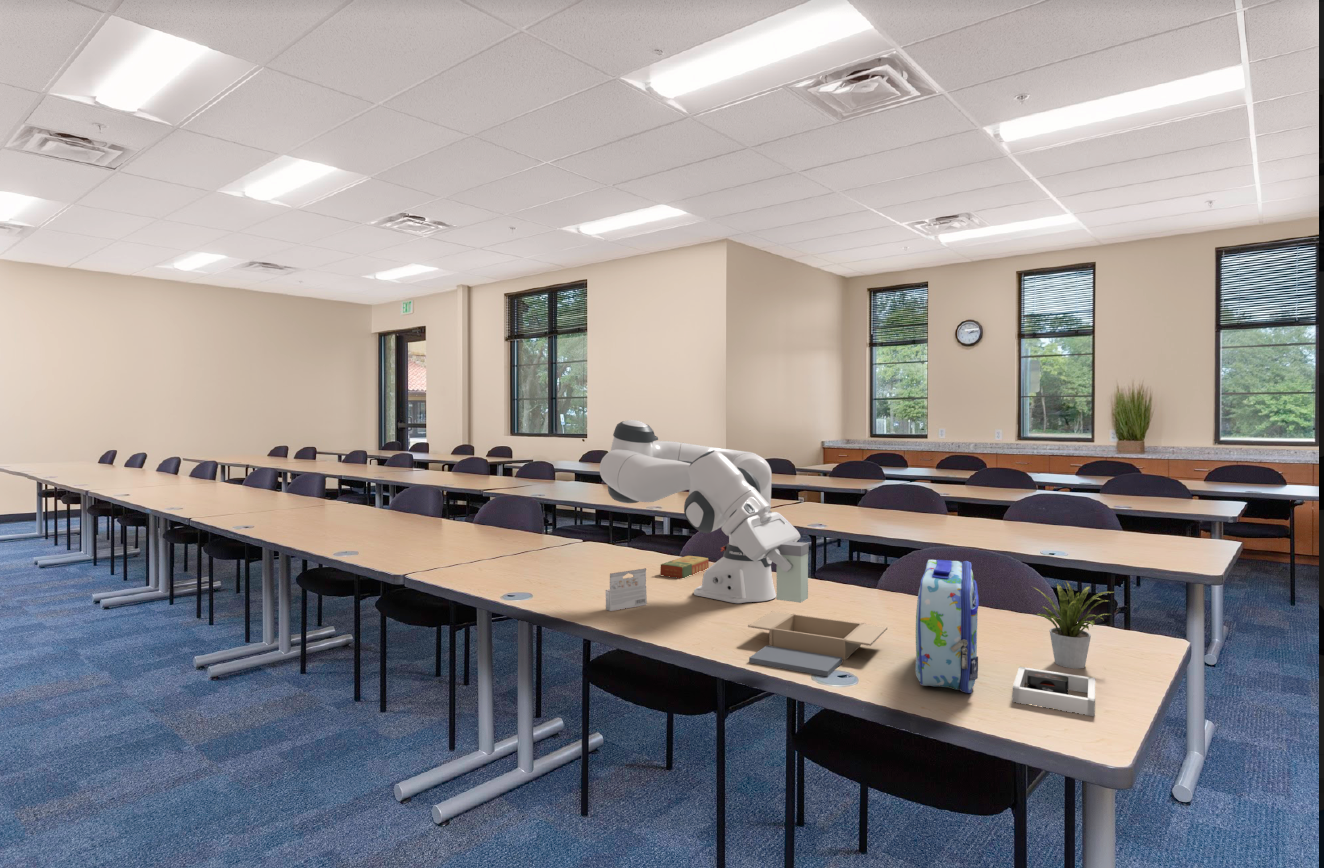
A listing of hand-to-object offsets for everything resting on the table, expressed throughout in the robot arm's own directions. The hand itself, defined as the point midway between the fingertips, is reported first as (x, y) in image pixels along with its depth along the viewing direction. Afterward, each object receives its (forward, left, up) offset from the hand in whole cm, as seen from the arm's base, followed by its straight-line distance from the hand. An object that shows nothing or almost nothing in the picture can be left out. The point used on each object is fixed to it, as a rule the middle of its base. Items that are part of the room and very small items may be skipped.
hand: (795, 567), depth 144 cm
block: (-1, 0, -6) cm, 6 cm away
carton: (-60, +64, -20) cm, 90 cm away
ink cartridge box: (-53, +20, -19) cm, 60 cm away
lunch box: (+27, +9, -19) cm, 34 cm away
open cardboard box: (0, +14, -19) cm, 23 cm away
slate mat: (0, +1, -19) cm, 19 cm away
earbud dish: (+45, +6, -19) cm, 49 cm away
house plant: (+48, +26, -19) cm, 58 cm away
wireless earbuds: (+43, +6, -20) cm, 48 cm away
